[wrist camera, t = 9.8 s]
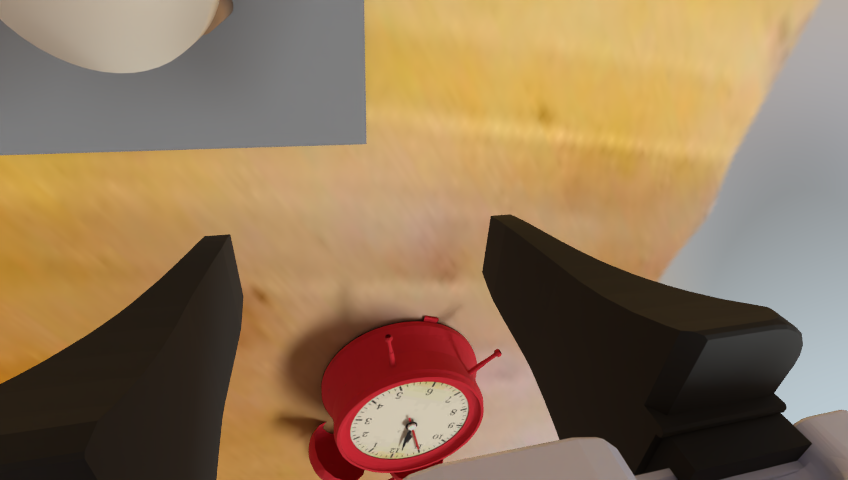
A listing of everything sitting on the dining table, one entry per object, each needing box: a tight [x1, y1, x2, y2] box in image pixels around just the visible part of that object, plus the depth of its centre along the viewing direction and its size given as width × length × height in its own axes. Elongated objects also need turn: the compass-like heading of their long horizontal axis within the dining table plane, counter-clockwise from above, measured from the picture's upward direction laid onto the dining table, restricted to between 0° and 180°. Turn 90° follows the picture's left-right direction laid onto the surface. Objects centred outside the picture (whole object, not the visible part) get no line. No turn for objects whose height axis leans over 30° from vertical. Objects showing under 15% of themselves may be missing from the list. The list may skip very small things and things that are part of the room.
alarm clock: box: [309, 316, 502, 480], centre depth 29 cm, size 10×6×15 cm
